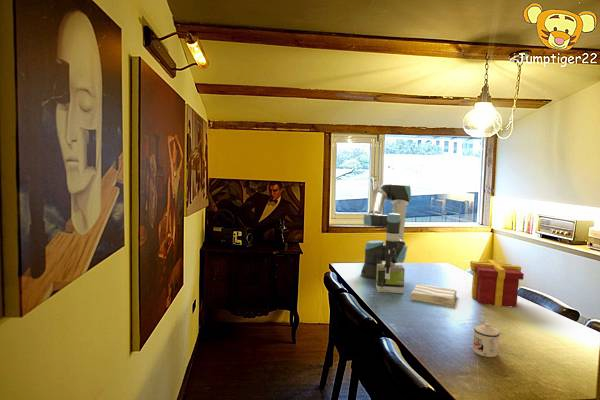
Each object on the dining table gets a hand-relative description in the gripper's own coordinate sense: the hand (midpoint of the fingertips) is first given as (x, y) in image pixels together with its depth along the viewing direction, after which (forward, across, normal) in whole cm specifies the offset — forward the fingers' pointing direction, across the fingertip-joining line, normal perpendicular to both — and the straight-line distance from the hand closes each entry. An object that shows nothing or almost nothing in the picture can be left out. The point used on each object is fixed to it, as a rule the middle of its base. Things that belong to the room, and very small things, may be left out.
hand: (389, 276), depth 234 cm
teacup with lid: (+10, -62, -52) cm, 82 cm away
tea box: (+9, 0, 0) cm, 9 cm away
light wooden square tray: (+8, 0, -25) cm, 26 cm away
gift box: (+9, +16, -55) cm, 58 cm away
